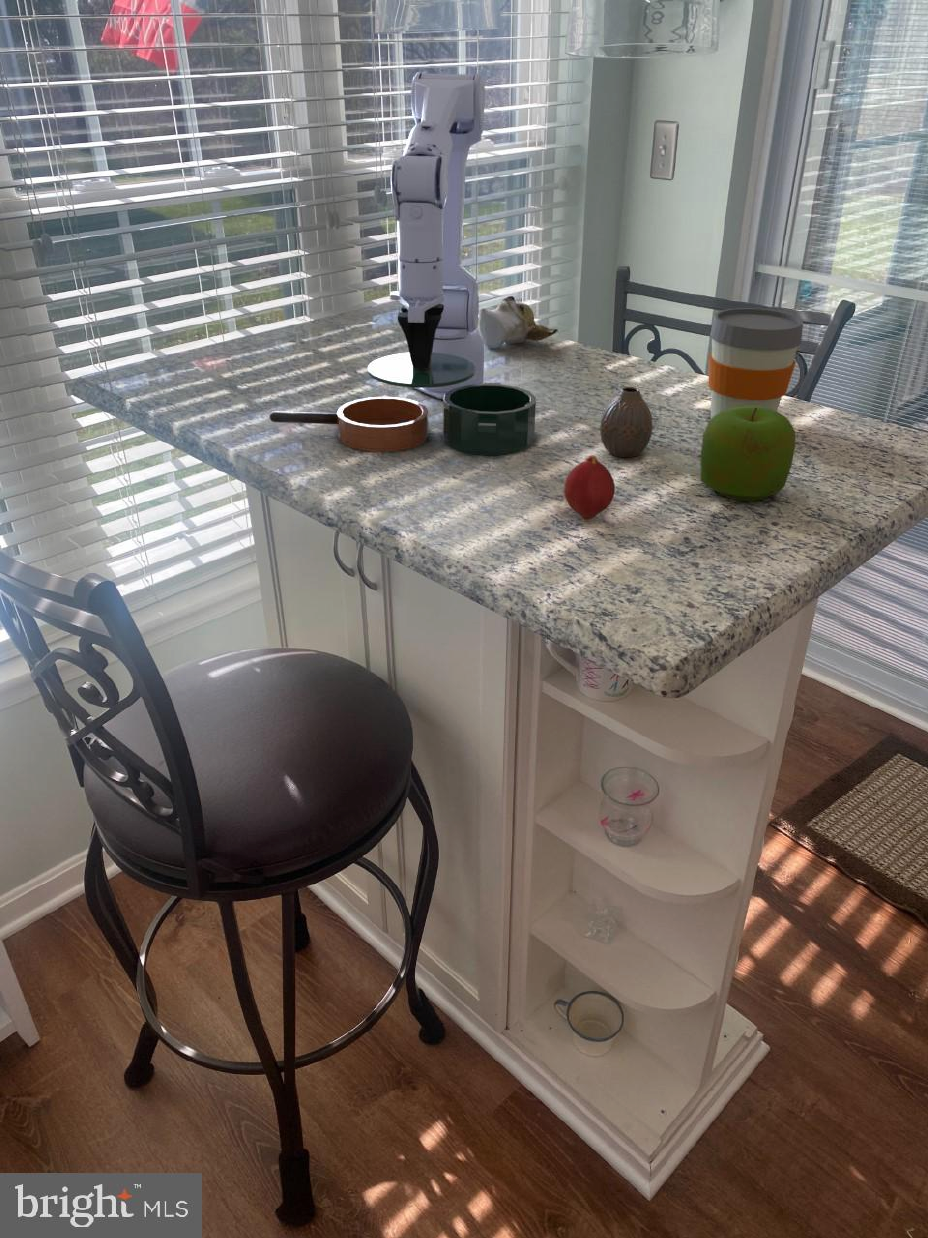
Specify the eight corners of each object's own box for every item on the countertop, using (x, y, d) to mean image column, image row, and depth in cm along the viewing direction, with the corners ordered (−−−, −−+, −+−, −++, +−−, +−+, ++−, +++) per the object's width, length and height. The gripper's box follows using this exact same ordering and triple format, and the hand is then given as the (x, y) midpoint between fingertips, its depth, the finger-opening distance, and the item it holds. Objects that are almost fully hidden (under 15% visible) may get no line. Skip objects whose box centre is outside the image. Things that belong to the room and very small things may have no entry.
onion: (558, 508, 118) (562, 445, 114) (605, 507, 119) (611, 444, 115) (567, 529, 113) (571, 464, 109) (616, 528, 114) (622, 463, 110)
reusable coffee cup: (804, 427, 144) (824, 323, 136) (741, 442, 138) (759, 334, 130) (742, 402, 153) (758, 303, 145) (680, 415, 147) (694, 313, 139)
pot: (533, 418, 146) (535, 379, 142) (533, 464, 130) (535, 421, 127) (448, 415, 146) (449, 376, 143) (438, 461, 131) (438, 418, 128)
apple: (712, 467, 130) (724, 387, 124) (794, 485, 125) (811, 402, 120) (683, 497, 122) (695, 412, 116) (770, 516, 117) (787, 429, 111)
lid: (477, 361, 140) (478, 327, 138) (472, 393, 127) (473, 357, 125) (375, 358, 141) (374, 325, 138) (360, 390, 128) (359, 354, 126)
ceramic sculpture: (462, 293, 175) (523, 286, 184) (459, 342, 179) (519, 333, 188) (502, 305, 168) (564, 298, 177) (498, 356, 172) (558, 346, 181)
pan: (432, 421, 144) (432, 398, 142) (423, 453, 133) (423, 428, 131) (346, 418, 145) (345, 395, 143) (331, 450, 134) (329, 425, 132)
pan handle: (344, 422, 139) (344, 412, 138) (343, 425, 138) (342, 415, 137) (271, 419, 139) (270, 409, 139) (268, 423, 138) (267, 413, 137)
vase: (617, 465, 130) (624, 400, 126) (588, 447, 136) (593, 385, 131) (659, 456, 133) (667, 393, 129) (629, 439, 138) (636, 378, 134)
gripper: (395, 246, 133) (398, 347, 140) (382, 269, 120) (385, 378, 127) (447, 247, 132) (447, 348, 139) (440, 270, 120) (440, 380, 127)
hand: (421, 363), depth 133 cm, fingers closed on lid, 2 cm apart
